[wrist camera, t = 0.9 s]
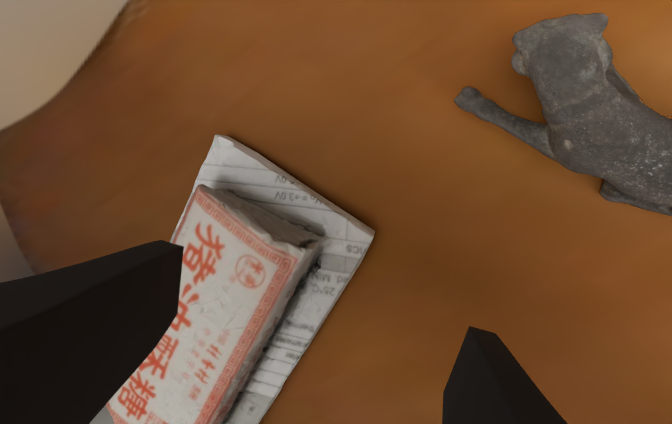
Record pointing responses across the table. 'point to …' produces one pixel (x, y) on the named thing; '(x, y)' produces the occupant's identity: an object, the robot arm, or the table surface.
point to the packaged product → (243, 292)
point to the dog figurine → (587, 112)
